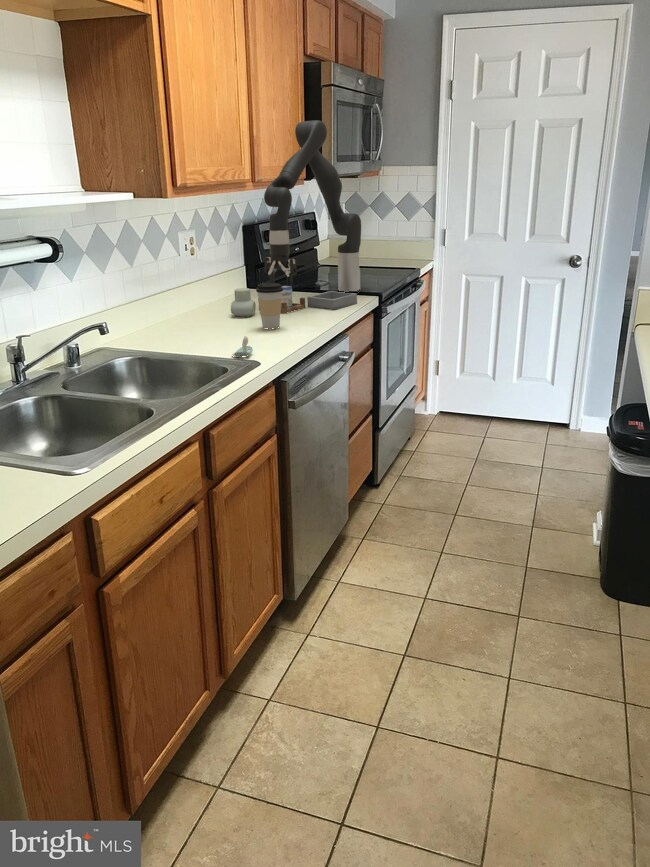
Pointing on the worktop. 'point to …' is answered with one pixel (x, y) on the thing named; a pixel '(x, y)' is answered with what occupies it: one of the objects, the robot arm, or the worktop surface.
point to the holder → (295, 306)
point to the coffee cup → (270, 304)
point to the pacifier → (243, 349)
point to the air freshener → (243, 303)
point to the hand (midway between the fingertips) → (280, 285)
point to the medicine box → (287, 296)
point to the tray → (332, 300)
